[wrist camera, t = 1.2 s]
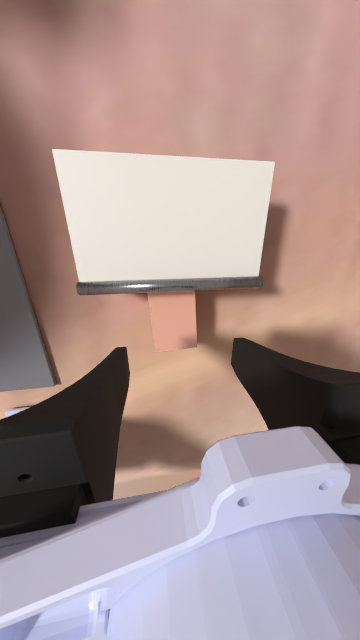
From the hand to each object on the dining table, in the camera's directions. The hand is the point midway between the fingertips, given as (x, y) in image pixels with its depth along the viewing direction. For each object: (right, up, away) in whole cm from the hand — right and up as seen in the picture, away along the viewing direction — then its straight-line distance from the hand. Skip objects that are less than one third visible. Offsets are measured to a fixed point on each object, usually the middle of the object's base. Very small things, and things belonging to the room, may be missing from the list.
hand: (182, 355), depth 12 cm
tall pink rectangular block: (-1, +4, +7) cm, 8 cm away
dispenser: (-1, +10, +4) cm, 11 cm away
